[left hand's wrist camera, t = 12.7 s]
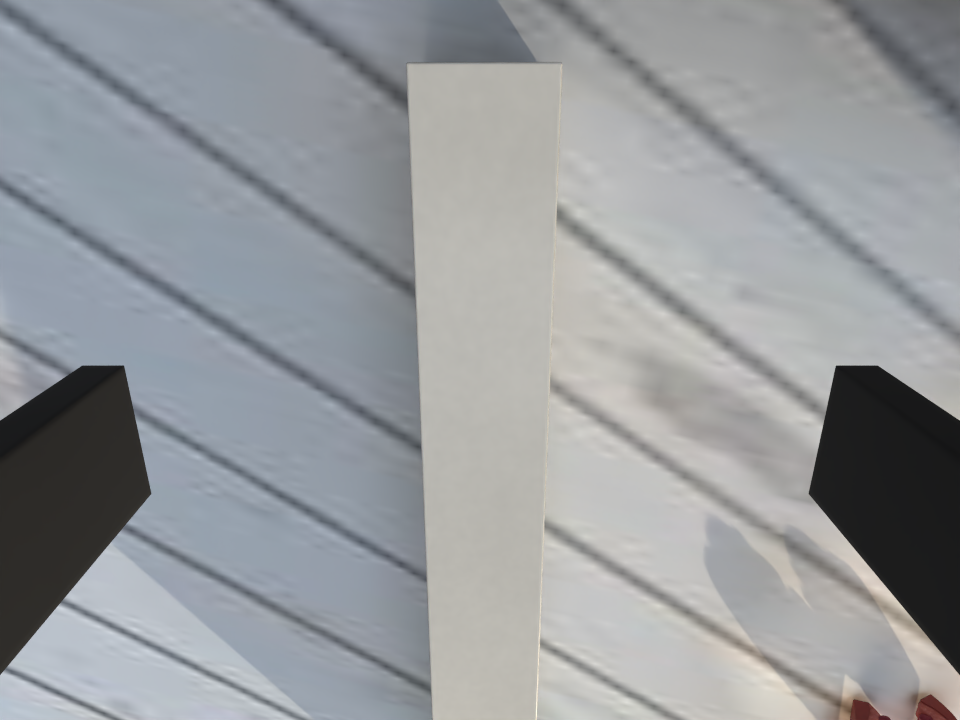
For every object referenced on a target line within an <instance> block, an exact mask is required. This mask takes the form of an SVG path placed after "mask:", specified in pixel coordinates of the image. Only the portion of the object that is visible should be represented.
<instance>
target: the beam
mask: <svg viewBox="0 0 960 720" xmlns="http://www.w3.org/2000/svg"><path fill="white" fill-rule="evenodd" d="M406 73H407V98H408V123H409V148H410V173H411V198H412V223H413V249H414V274H415V299H416V324H417V349H418V374H419V399H420V424H421V449H422V475H423V500H424V525H425V550H426V575H427V600H428V625H429V650H430V675H431V701H432V720H537V697H538V672H539V646H540V621H541V595H542V570H543V544H544V519H545V493H546V468H547V442H548V417H549V391H550V366H551V340H552V315H553V289H554V264H555V238H556V213H557V187H558V162H559V136H560V111H561V85H562V63H561V62H412V63H407V64H406Z"/></svg>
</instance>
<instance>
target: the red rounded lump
mask: <svg viewBox="0 0 960 720" xmlns="http://www.w3.org/2000/svg"><path fill="white" fill-rule="evenodd" d="M916 716H917V717H918V720H957V719H956V718H955V716H954V715H953V714H952V713H951V712H950V711H949V710H948V709H947V708H946V707H945V706H944V705H943V704H942V703H941V702H939V701H938V700H937V699H936V698H934V697H933V696H932V695H929V696H927V697H925V698H923V699H921V700H920V702H919V704H918V708H917V711H916ZM850 720H890V718H889V717H887V716H880V714H879V713H878V712H877V711H876V710H875V709H874V708H873V707H872V706H871V705H870V704H869V703H868V702H863V701H859V700H853V705H852V711H851V717H850Z"/></svg>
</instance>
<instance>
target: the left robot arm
mask: <svg viewBox="0 0 960 720" xmlns="http://www.w3.org/2000/svg"><path fill="white" fill-rule="evenodd" d="M150 495H151V490H150V485H149V481H148V476H147V471H146V467H145V462H144V457H143V453H142V448H141V443H140V439H139V434H138V429H137V425H136V420H135V415H134V410H133V406H132V401H131V396H130V392H129V387H128V382H127V378H126V373H125V368H124V366H81V367H80V368H78V369H77V370H75V371H74V372H72V373H71V374H69V375H68V376H66V377H65V378H63V379H62V380H60V381H59V382H57V383H56V384H54V385H53V386H51V387H50V388H48V389H47V390H45V391H44V392H42V393H41V394H39V395H38V396H36V397H35V398H33V399H32V400H30V401H29V402H27V403H26V404H24V405H23V406H21V407H20V408H18V409H17V410H15V411H14V412H12V413H11V414H10V415H8V416H7V417H5V418H4V419H2V420H1V421H0V675H1V673H2V672H3V671H4V670H5V669H6V667H7V666H8V665H9V664H10V663H11V661H12V660H13V659H14V658H15V657H16V655H17V654H18V653H19V652H20V651H21V649H22V648H23V647H24V646H25V645H26V643H27V642H28V641H29V640H30V639H31V637H32V636H33V635H34V634H35V633H36V631H37V630H38V629H39V628H40V627H41V625H42V624H43V623H44V622H45V621H46V619H47V618H48V617H49V616H50V615H51V613H52V612H53V611H54V610H55V609H56V607H57V606H58V605H59V604H60V603H61V601H62V600H63V599H64V598H65V597H66V595H67V594H68V593H69V592H70V591H71V589H72V588H73V587H74V586H75V585H76V583H77V582H78V581H79V580H80V579H81V577H82V576H83V575H84V574H85V573H86V571H87V570H88V569H89V568H90V567H91V565H92V564H93V563H94V562H95V561H96V559H97V558H98V557H99V556H100V555H101V553H102V552H103V551H104V550H105V549H106V547H107V546H108V545H109V544H110V543H111V541H112V540H113V539H114V538H115V537H116V535H117V534H118V533H119V532H120V531H121V529H122V528H123V527H124V526H125V525H126V523H127V522H128V521H129V520H130V519H131V517H132V516H133V515H134V514H135V513H136V511H137V510H138V509H139V508H140V507H141V505H142V504H143V503H144V502H145V501H146V499H147V498H148V497H149V496H150ZM809 495H810V496H811V497H812V498H813V499H814V501H815V502H816V503H817V504H818V505H819V507H820V508H821V509H822V510H823V511H824V513H825V514H826V515H827V516H828V517H829V519H830V520H831V521H832V522H833V523H834V525H835V526H836V527H837V528H838V529H839V531H840V532H841V533H842V534H843V535H844V537H845V538H846V539H847V540H848V541H849V543H850V544H851V545H852V546H853V547H854V549H855V550H856V551H857V552H858V553H859V555H860V556H861V557H862V558H863V559H864V561H865V562H866V563H867V564H868V565H869V567H870V568H871V569H872V570H873V571H874V573H875V574H876V575H877V576H878V577H879V579H880V580H881V581H882V582H883V583H884V585H885V586H886V587H887V588H888V589H889V591H890V592H891V593H892V594H893V595H894V597H895V598H896V599H897V600H898V601H899V603H900V604H901V605H902V606H903V607H904V609H905V610H906V611H907V612H908V613H909V615H910V616H911V617H912V618H913V619H914V621H915V622H916V623H917V624H918V625H919V627H920V628H921V629H922V630H923V631H924V633H925V634H926V635H927V636H928V637H929V639H930V640H931V641H932V642H933V643H934V645H935V646H936V647H937V648H938V649H939V651H940V652H941V653H942V654H943V655H944V657H945V658H946V659H947V660H948V661H949V663H950V664H951V665H952V666H953V667H954V669H955V670H956V671H957V672H958V673H959V675H960V421H959V420H958V419H956V418H955V417H953V416H952V415H950V414H949V413H948V412H946V411H945V410H943V409H942V408H940V407H939V406H937V405H936V404H934V403H933V402H931V401H930V400H928V399H927V398H925V397H924V396H922V395H921V394H919V393H918V392H916V391H915V390H913V389H912V388H910V387H909V386H907V385H906V384H904V383H903V382H901V381H900V380H898V379H897V378H895V377H894V376H892V375H891V374H889V373H888V372H886V371H885V370H883V369H882V368H880V367H879V366H836V368H835V373H834V378H833V382H832V387H831V392H830V396H829V401H828V406H827V410H826V415H825V420H824V425H823V429H822V434H821V439H820V443H819V448H818V453H817V457H816V462H815V467H814V471H813V476H812V481H811V485H810V490H809Z"/></svg>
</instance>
